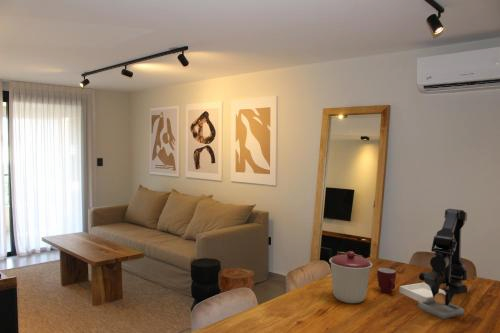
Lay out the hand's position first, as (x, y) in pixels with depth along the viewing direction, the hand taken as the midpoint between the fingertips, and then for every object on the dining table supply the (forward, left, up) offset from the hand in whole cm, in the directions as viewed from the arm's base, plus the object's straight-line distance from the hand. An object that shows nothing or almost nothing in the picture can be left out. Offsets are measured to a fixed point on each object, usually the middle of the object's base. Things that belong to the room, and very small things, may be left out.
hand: (441, 302), depth 159 cm
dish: (-7, -14, -3) cm, 16 cm away
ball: (0, 0, +2) cm, 2 cm away
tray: (0, 0, -3) cm, 3 cm away
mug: (+6, -23, -4) cm, 25 cm away
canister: (+28, -23, -4) cm, 37 cm away
